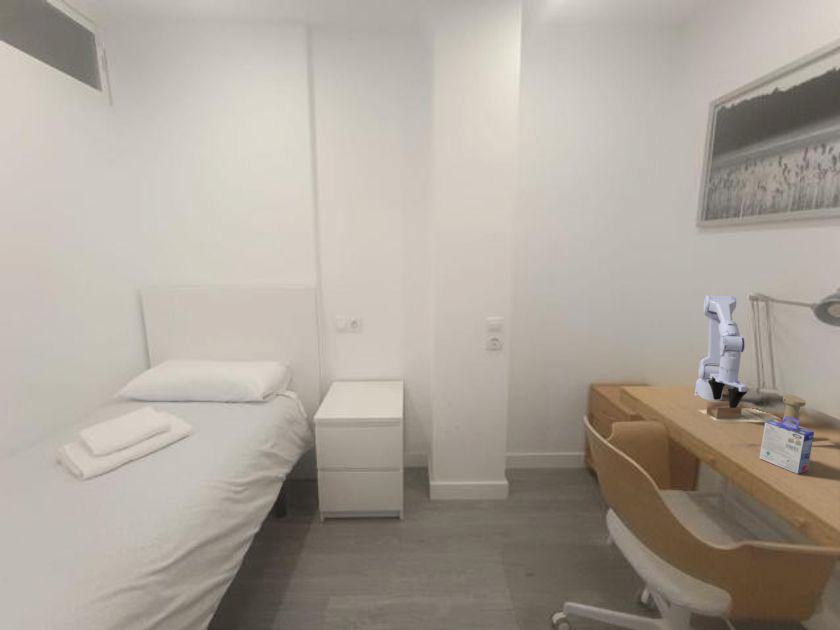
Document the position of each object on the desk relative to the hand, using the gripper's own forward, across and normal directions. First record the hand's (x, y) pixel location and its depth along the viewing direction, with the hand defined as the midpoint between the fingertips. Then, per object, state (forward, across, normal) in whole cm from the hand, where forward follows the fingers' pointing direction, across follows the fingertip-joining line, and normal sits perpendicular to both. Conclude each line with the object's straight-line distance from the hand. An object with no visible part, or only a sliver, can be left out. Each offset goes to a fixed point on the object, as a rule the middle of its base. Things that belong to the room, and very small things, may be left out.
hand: (724, 403), depth 148 cm
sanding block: (+5, 0, 0) cm, 5 cm away
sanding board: (+7, 0, +6) cm, 9 cm away
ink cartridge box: (+7, +30, -5) cm, 31 cm away
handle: (+7, +17, +8) cm, 20 cm away
